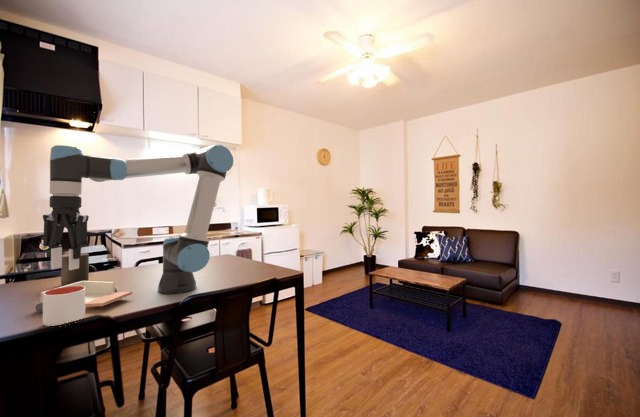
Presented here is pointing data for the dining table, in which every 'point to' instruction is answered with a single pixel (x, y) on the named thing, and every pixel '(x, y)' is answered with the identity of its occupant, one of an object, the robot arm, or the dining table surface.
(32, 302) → the dining table surface
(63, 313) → the cup
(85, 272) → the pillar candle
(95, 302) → the panel
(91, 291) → the truck bed
